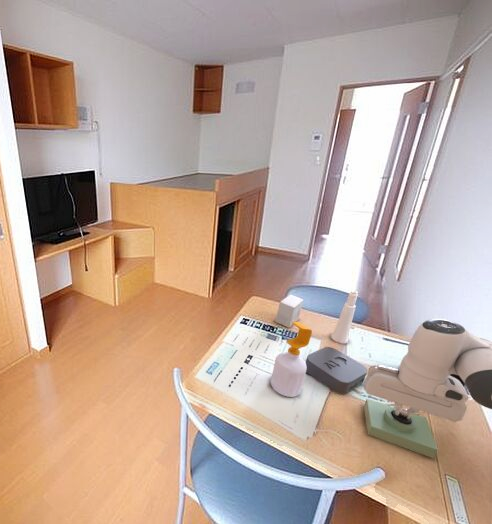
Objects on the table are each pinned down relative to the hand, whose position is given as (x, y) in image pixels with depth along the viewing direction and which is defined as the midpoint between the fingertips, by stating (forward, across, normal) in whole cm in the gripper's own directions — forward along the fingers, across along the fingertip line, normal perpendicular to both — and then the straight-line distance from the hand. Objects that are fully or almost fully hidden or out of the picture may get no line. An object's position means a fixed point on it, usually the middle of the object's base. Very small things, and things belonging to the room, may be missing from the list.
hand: (401, 415), depth 84 cm
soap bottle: (+6, -29, +2) cm, 30 cm away
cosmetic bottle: (+6, -12, +41) cm, 43 cm away
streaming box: (+6, -15, +16) cm, 23 cm away
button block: (+6, 0, 0) cm, 6 cm away
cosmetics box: (+6, -32, +45) cm, 55 cm away
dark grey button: (+2, 0, 0) cm, 2 cm away
